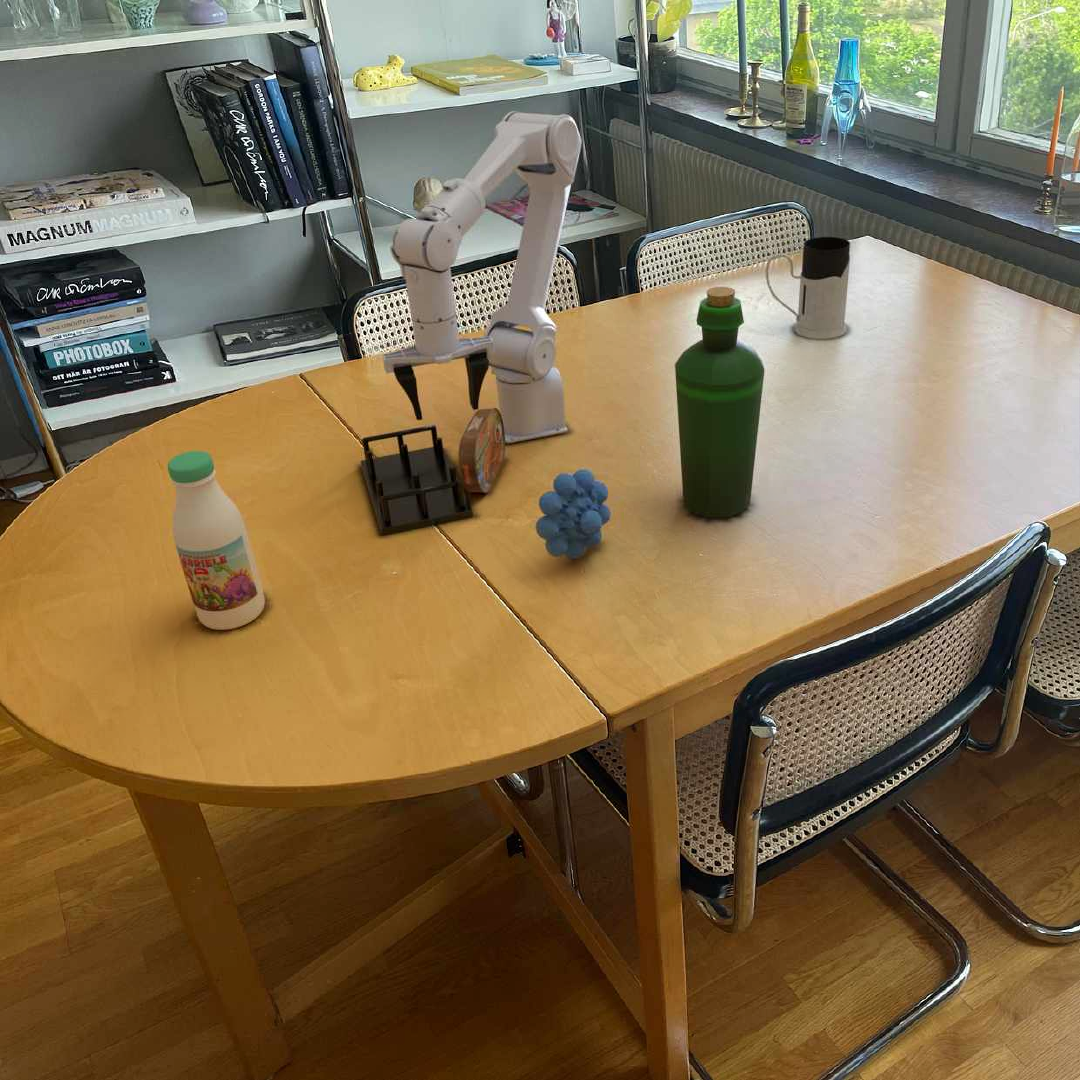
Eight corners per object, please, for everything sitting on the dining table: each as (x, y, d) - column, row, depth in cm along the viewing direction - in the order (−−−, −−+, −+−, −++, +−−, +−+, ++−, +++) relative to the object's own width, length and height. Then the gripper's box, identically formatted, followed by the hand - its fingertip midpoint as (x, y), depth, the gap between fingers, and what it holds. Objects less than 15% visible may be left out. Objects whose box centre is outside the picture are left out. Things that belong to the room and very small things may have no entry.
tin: (483, 504, 137) (476, 447, 132) (460, 503, 137) (452, 447, 133) (508, 451, 149) (503, 397, 144) (487, 450, 150) (481, 397, 145)
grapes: (568, 592, 118) (562, 502, 112) (527, 571, 123) (519, 483, 116) (635, 549, 125) (633, 461, 118) (594, 530, 129) (590, 444, 123)
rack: (443, 451, 151) (439, 420, 148) (473, 516, 134) (469, 483, 131) (361, 466, 148) (355, 435, 146) (381, 535, 132) (375, 502, 129)
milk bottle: (205, 596, 123) (160, 446, 112) (270, 589, 123) (231, 439, 113) (192, 635, 116) (143, 480, 106) (261, 627, 117) (218, 472, 106)
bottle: (764, 487, 135) (775, 277, 120) (751, 529, 127) (760, 310, 112) (684, 479, 138) (684, 274, 123) (665, 520, 130) (664, 305, 115)
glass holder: (852, 337, 175) (860, 249, 167) (767, 342, 176) (771, 255, 168) (840, 318, 183) (847, 234, 175) (759, 324, 183) (762, 239, 175)
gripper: (381, 335, 127) (397, 433, 135) (495, 316, 130) (505, 414, 137) (374, 316, 133) (390, 412, 141) (483, 298, 136) (493, 393, 143)
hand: (446, 411), depth 139 cm, fingers open, 7 cm apart
